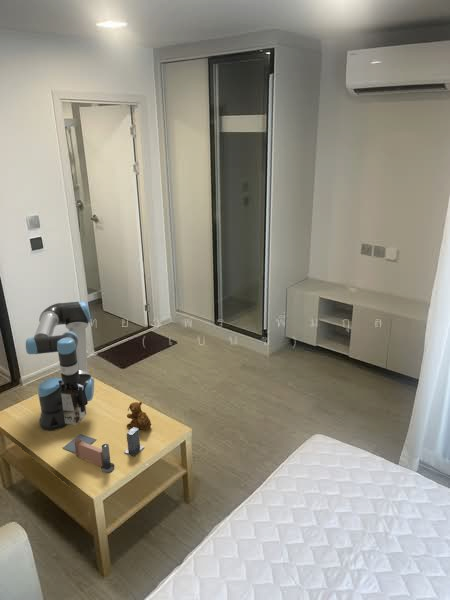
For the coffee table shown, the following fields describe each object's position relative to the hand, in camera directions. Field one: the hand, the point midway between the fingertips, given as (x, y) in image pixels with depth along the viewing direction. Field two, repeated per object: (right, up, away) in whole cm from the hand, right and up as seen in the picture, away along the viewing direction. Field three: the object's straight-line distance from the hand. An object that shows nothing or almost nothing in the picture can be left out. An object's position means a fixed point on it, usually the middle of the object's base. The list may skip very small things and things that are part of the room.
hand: (75, 414), depth 209 cm
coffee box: (0, -2, +1) cm, 2 cm away
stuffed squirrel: (+27, -11, +19) cm, 35 cm away
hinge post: (+17, -21, -10) cm, 29 cm away
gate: (+9, -19, -6) cm, 22 cm away
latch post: (+27, -17, +2) cm, 32 cm away
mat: (0, -16, +6) cm, 17 cm away
